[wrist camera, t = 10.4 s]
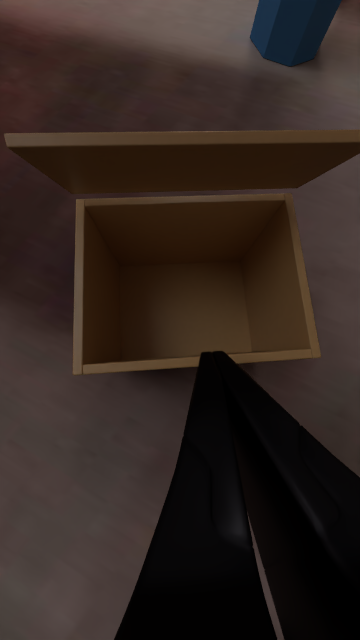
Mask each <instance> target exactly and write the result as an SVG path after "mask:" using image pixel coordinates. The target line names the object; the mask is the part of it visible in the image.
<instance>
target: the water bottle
mask: <svg viewBox="0 0 360 640" xmlns="http://www.w3.org/2000/svg"><path fill="white" fill-rule="evenodd" d="M340 3H341V0H259V3H258V7H257V11H256V15H255V19H254V23H253V28H252V32H251V36H250V39H251V40H252V42H253V43H254V45H255V46H256V48H257V49H258V51H259V52H260V54H261V55H262V57H263V58H266V59H269V60H272V61H275V62H278V63H281V64H284V65H287V66H293V65H296V64H299V63H302V62H305V61H309V60H312V59H314V57H315V55H316V53H317V51H318V48H319V46H320V44H321V42H322V40H323V38H324V36H325V34H326V32H327V30H328V28H329V26H330V23H331V21H332V19H333V17H334V15H335V13H336V11H337V9H338V7H339V5H340Z"/></svg>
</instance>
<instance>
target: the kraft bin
mask: <svg viewBox="0 0 360 640" xmlns="http://www.w3.org/2000/svg"><path fill="white" fill-rule="evenodd" d="M221 350H222V351H224V352H225V353H226V354H227V355H228V356H229V357H230V358H231V359H233V360H234V361H235V362H236V363H237V364H240V363H254V362H268V361H282V360H296V359H310V358H321V354H320V348H319V342H318V337H317V331H316V326H315V320H314V315H313V309H312V304H311V298H310V292H309V287H308V281H307V276H306V270H305V265H304V259H303V254H302V248H301V243H300V237H299V231H298V226H297V220H296V215H295V209H294V204H293V198H292V194H291V193H286V194H251V195H215V196H178V197H142V198H105V199H85V200H84V199H76V235H75V285H74V334H73V375H83V374H84V375H86V374H100V373H114V372H128V371H142V370H156V369H170V368H184V367H198V364H199V359H200V355H201V352H206V351H211V352H213V351H221Z"/></svg>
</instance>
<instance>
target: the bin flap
mask: <svg viewBox="0 0 360 640" xmlns="http://www.w3.org/2000/svg"><path fill="white" fill-rule="evenodd" d="M4 136H5V141H6V145H7V147H8V148H9V149H10V150H12V151H13V152H14V153H16V154H17V155H19V156H20V157H21V158H23V159H24V160H26V161H27V162H28V163H30V164H31V165H32V166H34V167H35V168H37V169H38V170H39V171H41V172H42V173H44V174H45V175H46V176H48V177H49V178H51V179H52V180H53V181H55V182H56V183H58V184H59V185H60V186H62V187H63V188H64V189H66V190H67V191H69V192H70V193H71V194H89V193H128V192H166V191H205V190H243V189H282V188H298V187H300V186H302V185H304V184H306V183H307V182H309V181H311V180H313V179H315V178H316V177H318V176H320V175H322V174H324V173H325V172H327V171H329V170H331V169H333V168H334V167H336V166H338V165H340V164H341V163H343V162H345V161H347V160H349V159H350V158H352V157H354V156H356V155H358V154H359V153H360V130H281V131H186V132H91V133H5V134H4Z"/></svg>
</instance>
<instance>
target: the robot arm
mask: <svg viewBox="0 0 360 640" xmlns="http://www.w3.org/2000/svg"><path fill="white" fill-rule="evenodd" d="M247 513H248V515H247ZM248 516H249V520H250V523H251V526H252V530H253V533H254V537H255V540H256V543H257V547H258V550H259V554H260V557H261V560H262V564H263V567H264V569H265V574H266V578H267V581H268V585H269V588H270V591H271V595H272V598H273V602H274V605H275V608H276V612H277V615H278V619H279V622H280V625H281V629H282V632H283V636H284V639H285V640H360V477H359V476H357V475H356V474H355V473H354V472H353V471H351V470H350V469H349V468H348V467H347V466H346V465H344V464H343V463H342V462H341V461H340V460H339V459H337V458H336V457H335V456H334V455H333V454H332V453H331V452H329V451H328V450H327V449H326V448H325V447H324V446H323V445H322V444H321V443H320V442H319V441H318V440H316V439H315V438H314V437H313V436H312V435H311V434H310V433H309V432H308V431H307V430H306V429H305V428H304V427H303V426H300V424H299V423H298V422H297V421H296V420H295V419H294V418H293V417H292V416H291V415H290V414H289V413H288V412H287V411H286V410H285V409H284V408H283V407H282V406H281V405H280V404H279V403H277V402H276V401H275V400H274V399H273V398H272V397H271V396H270V395H269V394H268V393H267V392H266V391H265V390H264V389H263V388H262V387H261V386H260V385H259V384H258V383H257V382H256V381H254V380H253V379H252V378H251V377H250V376H249V375H248V374H247V373H246V372H245V371H244V370H243V369H242V368H241V367H240V366H239V365H238V364H237V363H236V362H235V361H234V360H233V359H231V358H230V357H229V356H228V355H227V354H226V353H225V352H224V351H222V350H221V351H213V352H211V351H206V352H201V355H200V359H199V364H198V369H197V373H196V378H195V383H194V387H193V392H192V397H191V401H190V406H189V411H188V415H187V420H186V425H185V429H184V436H183V438H182V443H181V447H180V452H179V456H178V460H177V464H176V468H175V472H174V475H173V478H172V481H171V484H170V488H169V491H168V494H167V497H166V500H165V503H164V506H163V509H162V511H161V514H160V517H159V520H158V523H157V526H156V529H155V532H154V535H153V538H152V541H151V543H150V546H149V549H148V552H147V555H146V558H145V561H144V564H143V567H142V570H141V572H140V575H139V578H138V581H137V583H136V586H135V589H134V591H133V594H132V597H131V599H130V602H129V604H128V607H127V609H126V612H125V614H124V617H123V619H122V622H121V624H120V627H119V629H118V631H117V634H116V636H115V638H114V640H277V637H276V634H275V630H274V627H273V624H272V620H271V617H270V614H269V611H268V607H267V604H266V600H265V597H264V593H263V589H262V585H261V581H260V576H259V572H258V567H257V563H256V558H255V553H254V549H253V547H252V546H253V542H252V536H251V531H250V525H249V520H248Z"/></svg>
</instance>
